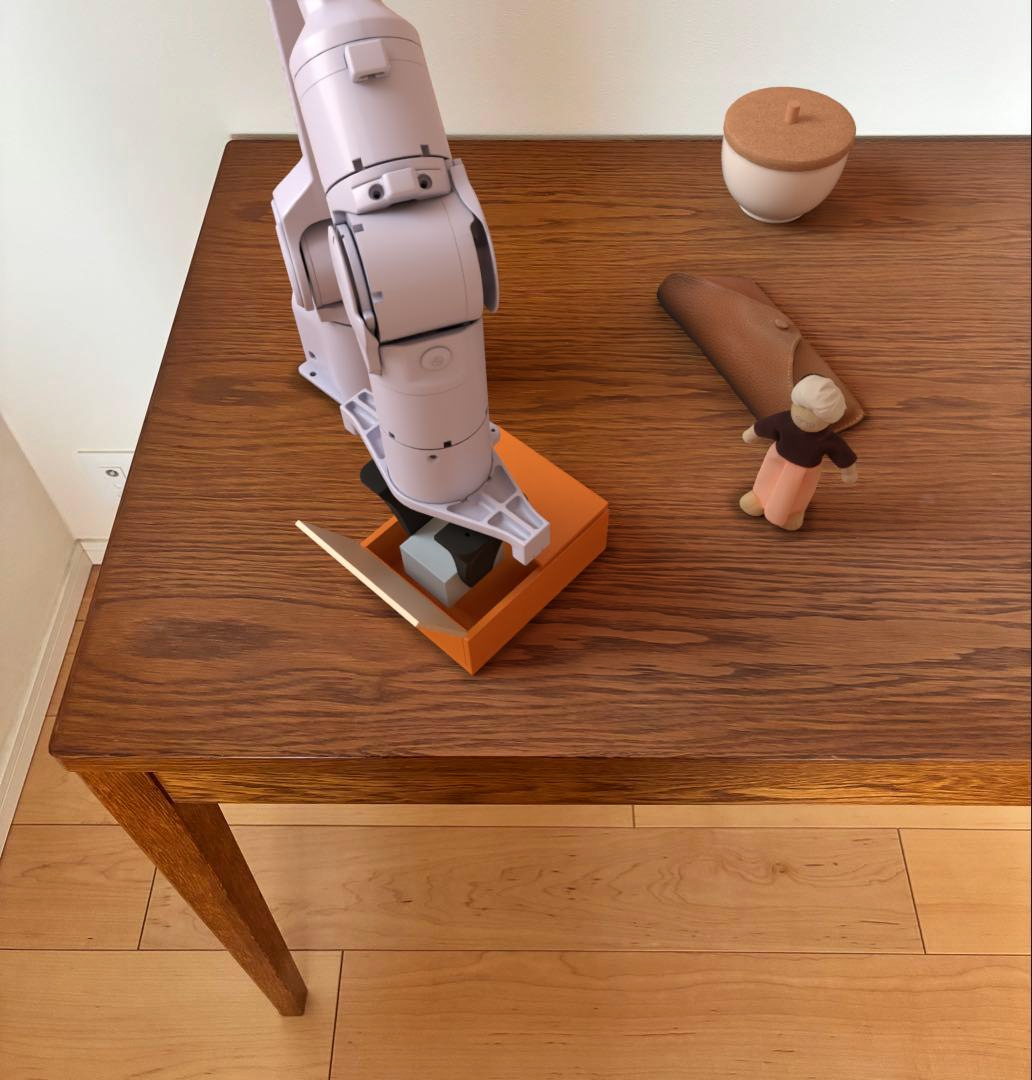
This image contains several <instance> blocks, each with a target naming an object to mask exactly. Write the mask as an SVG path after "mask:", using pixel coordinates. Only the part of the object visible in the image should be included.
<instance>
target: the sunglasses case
mask: <svg viewBox="0 0 1032 1080" xmlns="http://www.w3.org/2000/svg"><path fill="white" fill-rule="evenodd" d="M656 299H657V301H658V303H659V304H660V305H661V307H662V308H663V310H665V312H666V313H667V314H668V315H669V316H670V318H671V319H672V320H673V321H674V322H675V323H676V324H677V325H678V326H679V327H680V329H682V330H683V332H684V333H685V334H686V335H687V336H688V338H689V339H690V340H691V341H692V342H693V343H694V345H695V346H697V348H698V349H699V350H700V351H701V353H702V354H703V355H704V356H705V358H706V359H707V360H708V361H709V362H710V364H711V365H712V367H713V368H714V369H715V370H716V371H717V372H718V373H719V375H720V376H721V377H722V378H723V380H724V381H725V382H726V383H727V385H728V386H729V387H730V388H731V389H732V390H733V392H734V393H735V395H736V396H737V397H738V398H739V400H740V401H741V403H743V404H744V406H745V407H746V408H747V410H748V411H749V412H750V414H752V416H753V418H755V420H756V421H757V420H759V419H762V418H765V417H767V416H770V415H773V414H776V413H779V412H782V411H788V410H791V407H792V404H793V401H792V397H791V395H792V391H793V389H794V387H795V386H796V385H797V384H798V383H799V382H800V381H801V380H803V379H804V378H806V377H808V376H811V375H817V376H820V377H824V378H829V379H831V380H832V381H833V382H834V384H835V385H836V386H837V387H838V388H839V389H840V390H841V392H842V394H843V396H844V399H845V404H846V407H847V409H845V411H844V414H843V416H842V417H841V418H840V419H839V420H838V421H837V422H834V423H830V424H829V425H828V426H829V427H830V428H831V430H832V431H833V432H834V433H835V434H837V435H839V434H840V433H841V432H844V431H846V430H848V429H850V428H852V427H855V426H857V425H859V424H860V423H861V422H862V421H863V420H864V419H865V416H866V413H865V411H864V409H863V407H862V405H861V404H860V402H859V401H858V400H857V398H856V397H855V395H854V394H853V393H852V392H851V390H850V389H849V388H848V387H847V385H846V384H845V383H844V382H843V380H842V379H841V378H840V377H839V376H838V374H836V372H835V371H834V370H833V369H832V368H831V366H829V364H827V362H826V361H825V360H824V359H823V358H822V357H821V355H820V353H818V351H816V349H815V348H814V347H813V346H812V345H811V344H810V342H808V341H807V340H806V338H804V336H803V335H802V332H801V331H800V329H799V328H798V327H797V325H796V324H795V323H794V322H793V321H792V320H791V319H790V318H789V317H788V316H787V315H786V314H785V313H783V312H782V311H781V310H780V309H779V308H778V307H777V305H775V303H774V302H773V301H772V300H771V299H770V298H769V297H768V296H767V294H766V293H765V292H764V291H763V290H762V289H761V288H760V287H759V286H758V285H757V283H756V282H755V281H754V280H753V279H751V278H750V277H749V276H748V275H745V274H739V275H736V276H709V275H707V276H703V275H692V274H689V273H687V272H685V271H674V272H671V273H669V274H668V275H667V276H666V277H664V279H663V280H662V281H661V282H660V284H659V286H658V288H657V290H656ZM772 441H773V443H774V442H775V440H772Z"/></svg>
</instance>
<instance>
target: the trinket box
mask: <svg viewBox="0 0 1032 1080" xmlns="http://www.w3.org/2000/svg"><path fill="white" fill-rule="evenodd" d="M722 131H723V134H722V135H723V136H722V141H721V142H722V143H721V152H720V155H721V156H720V157H721V158H720V160H721V161H720V162H721V171H722V178H723V180H724V184H725V187H726V189H727V190H728V192H729V194H730V196H731V197H732V198H733V200H734V201H735V202H736V203H737V205H738V206H739V207H740V209H741V211H743V212H744V214H746V215H747V216H749V217H750V218H752V219H754V220H757V221H759V222H762V223H769V224H784V223H785V224H786V223H791V222H792V221H796V220H797V219H799V218H800V217H801V216H803V215H805V214H807V213H808V212H810V211H812V210H814V209H815V208H817V207H818V206H819V205H821V204H822V203H823V202H824V201H825V200H826V199H827V198H828V197H829V195H830V194H831V193H832V191H833V189H834V188H835V187H836V185H837V183H838V181H840V178H841V176H842V174H843V171H844V169H845V166H846V164H847V160H848V157H849V155H850V151H851V150H852V148H853V146H854V145H853V144H854V142H855V138H856V135H857V125H856V121H855V120H854V117H853V115H852V114H851V112H850V111H849V110H848V109H847V108H846V107H845V106H844V105H843V104H842V103H841V102H839V101H837V100H836V99H834V98H833V97H830V96H828V95H827V94H824V93H821V92H818V91H816V90H811V89H808V88H803V87H795V86H770V87H769V86H768V87H764V88H759V89H756V90H752V91H750V92H748V93H745V94H743V95H741V96H740V97H738V98H736V99H735V101H734V102H733V103H731V104H730V106H728V108H727V110H726V112H725V115H724V120H723V129H722Z"/></svg>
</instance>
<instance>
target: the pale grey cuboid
mask: <svg viewBox="0 0 1032 1080" xmlns="http://www.w3.org/2000/svg"><path fill="white" fill-rule="evenodd" d="M448 523H449V522H448V521H445V520H442V519H439V518H436V517H434V518H433V519H431V520H430V521H429V522H428V523H427V524H425V525H424V526H423V527H422V528H421V529H419V530H418V531H417V532H416V533H415V534H414V535H412V536H411V537H410V538H409V539H408V540H406V541H405V542H404V543H403V544H402V545H400V550H401V554H402V559H403V564H404V568H405V572H406V573H407V574H408V575H409V576H410V577H412V578H413V579H414V580H415V581H416V582H418V583H419V584H420V585H421V586H423V587H424V588H425V589H426V590H427V591H429V592H430V593H431V594H432V595H433V596H435V597H436V598H437V599H438V600H440V601H441V602H442V603H443V604H444V605H446V606H447V607H448V608H450V607H451V606H452V605H453V604H455V603H456V602H457V601H458V600H459V599H460V598H461V597H462V596H463V595H465V594H466V593H467V592H468V591H469V590H470V589H471V588H470V587H468V586H467V585H466V584H465V583H463V581H462V580H461V579H460V577H459V575H458V573H457V569H456V566H455V562H454V560H453V558H452V556H451V554H450V553H449V551H448V550H446V549H445V548H444V547H443V546H441V545H440V544H439V543H438V542H436V541H435V540H434V535H435V534H436V533H438V532H439V531H440V530H441V529H442V528H443V527H445V526H446V525H447V524H448ZM503 559H504V549H503V542H502V544H501V547H500V549H499V551H498V554H497V556H496V559H495V562H494V566H493V568H494V567H496V566H497V565H498V564H499V563H500V562H501V561H502V560H503Z"/></svg>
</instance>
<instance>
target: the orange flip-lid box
mask: <svg viewBox="0 0 1032 1080" xmlns="http://www.w3.org/2000/svg"><path fill="white" fill-rule="evenodd" d="M495 425H496V426H498V428H499V429H500V440H499V442H498V443H497V444H496V445H494V447H493V448H494V449H495V451H496V452H497V454H498V456H499V457H500V459H501V460H502V462H503V463H504V465H505V466H506V468H507V469H508V471H509V473H510V474H511V476H512V477H513V479H514V480H515V482H516V483H517V485H518V486H519V488H520V489H521V491H522V492H523V493H524V494H525V495H526V496H527V498H528V502H529V503H530V504H531V506H532V507H533V508H534V509H535V510H536V512H538V513H539V514H540V515H541V516H542V517H543V518H544V519H546V520H547V521H548V522H549V523H550V544H549V545H548V546H547V547H546V548H545V549H543V550H542V552H541V553H539V554H538V555H537V556H536V557H535V558H534V559H533V560H532V561H530V562H529V563H528V564H527V565H523V564H522V563H521V562H519V561H518V560H517V559H515V558H514V557H513V551H512V546H511V544H509V543H507V542H505V541H503V549H504V559H503V560H502V561H501V562H500V563H499V564H498V565H497V566H496V567H494V568H493V569H492V570H491V571H490V572H489V573H488V574H487V575H486V576H485V577H484V578H483V579H481V580H480V581H479V582H478V583H477V584H476V585H475V586H474V587H473V588H471V589H470V590H469V591H468V592H467V593H466V594H465V595H463V596H462V597H461V598H460V599H459V600H458V601H457V602H456V603H455V604H453V605H452V606H451V607H450V608H448V607H447V606H446V605H444V604H443V603H442V602H441V601H440V600H438V599H437V598H436V597H435V596H433V595H432V594H431V593H430V592H429V591H427V590H426V589H425V588H424V587H423V586H421V585H420V584H419V583H418V582H416V581H415V580H414V579H413V578H412V577H410V576H409V575H408V574H407V573H406V572H405V568H404V564H403V559H402V554H401V550H400V545H402V544H403V543H404V542H405V541H406V540H408V539H409V537H408V536H407V534H406V533H405V531H404V529H403V528H402V526H401V525H400V523H399V521H398V520H397V518H396V517H395V515H394V514H393V516H391V517H390V518H389V519H388V520H387V521H386V522H384V523H383V524H382V525H381V526H379V527H378V528H377V529H376V530H374V531H373V532H372V533H371V534H370V535H369V536H367V537H366V538H365V539H364V540H362V541H361V542H360V543H359V544H360V545H362V546H363V547H364V548H365V549H366V550H368V551H369V552H370V553H371V554H372V555H374V556H375V557H376V558H377V559H378V560H380V561H381V562H382V563H383V564H384V565H386V566H387V567H388V568H389V569H390V570H392V571H393V572H394V573H395V574H397V575H398V576H399V577H400V578H401V579H403V580H404V581H405V582H406V583H407V584H409V585H410V586H411V587H412V588H413V589H415V590H416V591H417V592H418V593H419V594H421V595H422V596H423V597H424V598H425V599H427V600H428V601H429V602H430V603H432V604H433V605H434V606H435V607H436V608H438V609H439V610H440V611H441V612H442V613H444V614H445V615H446V616H447V617H448V618H450V619H451V620H452V621H453V622H454V623H456V624H457V625H458V626H459V627H460V628H462V629H463V630H464V631H465V632H466V633H467V635H466V637H465V638H462V637H457V636H453V635H449V634H444V633H440V632H436V631H431V630H427V629H422V628H418V627H415V628H416V629H417V630H418V631H420V632H421V633H422V634H423V635H424V636H425V637H426V638H428V639H429V640H430V641H431V642H432V643H434V644H435V645H436V646H437V647H438V648H440V649H441V650H442V651H443V652H444V653H445V654H446V655H447V656H449V657H450V658H451V659H452V660H454V661H455V662H456V663H457V664H458V665H460V667H462V668H463V669H464V670H465V671H466V672H468V673H469V674H470V675H471V676H474V675H475V674H476V673H477V672H478V671H479V670H480V669H481V668H482V667H484V665H485V664H486V663H487V662H488V661H490V659H492V658H493V657H494V656H495V655H496V654H497V653H498V652H499V651H500V650H501V649H502V648H503V647H505V645H506V644H507V643H508V642H510V640H512V638H514V637H515V636H516V635H517V634H518V633H519V632H520V631H521V630H522V629H524V627H525V626H527V625H528V624H529V622H530V621H531V620H533V619H534V618H535V617H536V616H537V615H538V614H539V613H540V612H541V611H542V610H543V609H544V608H545V607H546V606H547V605H548V604H549V603H550V602H551V601H552V600H554V599H555V597H557V595H559V594H560V593H561V592H562V591H563V590H564V589H565V588H567V586H568V585H569V584H570V583H571V582H572V581H573V580H575V579H576V577H578V575H580V574H581V573H582V572H583V571H584V570H585V569H586V568H587V567H588V566H589V565H590V564H591V563H592V562H594V561H595V559H596V558H597V557H598V556H599V555H601V553H603V552H604V551H605V550H606V549H607V539H608V529H609V528H608V527H609V517H610V509H609V508H608V507H609V505H610V502H608V501H607V500H606V499H605V498H603V497H601V496H600V495H599V494H597V493H595V492H594V491H593V490H591V489H590V488H588V487H586V486H585V484H583V483H581V482H580V481H578V480H577V479H575V478H574V477H572V476H571V475H570V474H568V473H567V472H565V471H564V470H562V469H561V468H560V467H558V466H557V465H556V464H554V463H553V462H551V461H550V460H549V459H547V458H545V457H544V456H542V455H541V454H540V453H538V452H537V451H535V450H534V449H532V448H531V447H529V446H528V445H527V444H525V443H524V442H522V441H521V440H520V439H518V438H517V437H515V436H514V435H512V434H511V433H510V432H508V431H507V430H505V429H504V428H502V427H501V426H500V425H498V424H495Z"/></svg>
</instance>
